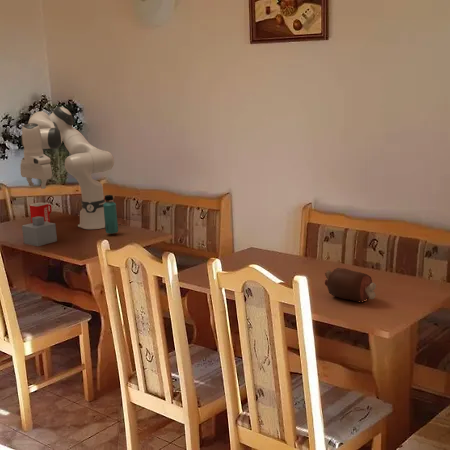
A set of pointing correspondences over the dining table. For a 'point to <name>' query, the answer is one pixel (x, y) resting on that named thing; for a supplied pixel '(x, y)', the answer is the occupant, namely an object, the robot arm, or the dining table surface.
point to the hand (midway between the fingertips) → (37, 187)
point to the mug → (40, 211)
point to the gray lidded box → (39, 232)
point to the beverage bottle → (110, 215)
